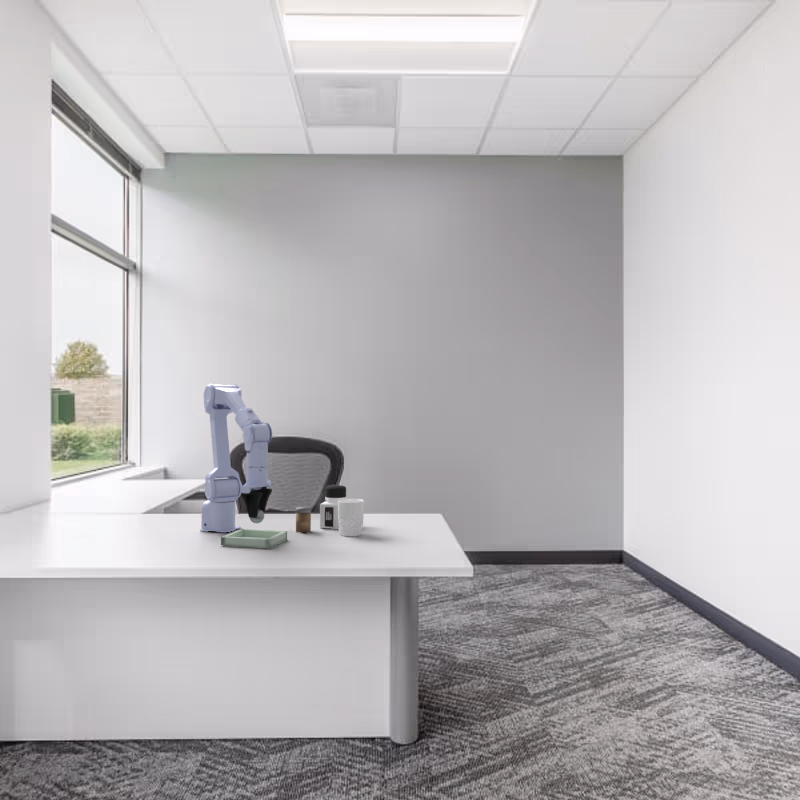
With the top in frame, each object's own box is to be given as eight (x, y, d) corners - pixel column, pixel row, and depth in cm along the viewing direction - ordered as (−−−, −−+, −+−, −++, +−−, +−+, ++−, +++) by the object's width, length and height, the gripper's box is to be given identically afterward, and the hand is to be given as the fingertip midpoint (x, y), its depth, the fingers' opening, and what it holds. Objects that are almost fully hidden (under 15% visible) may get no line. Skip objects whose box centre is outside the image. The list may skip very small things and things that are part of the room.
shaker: (293, 532, 190) (293, 508, 190) (298, 529, 194) (299, 506, 194) (307, 533, 189) (308, 509, 189) (313, 530, 193) (313, 507, 193)
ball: (247, 524, 175) (246, 510, 174) (253, 520, 179) (253, 506, 178) (260, 525, 174) (259, 510, 173) (267, 521, 178) (266, 507, 177)
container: (343, 529, 195) (344, 487, 195) (319, 528, 196) (320, 486, 197) (350, 525, 202) (351, 484, 203) (327, 524, 204) (327, 483, 204)
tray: (220, 546, 171) (220, 537, 171) (241, 537, 182) (241, 528, 182) (269, 548, 168) (269, 539, 168) (287, 539, 179) (287, 531, 179)
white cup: (331, 534, 188) (332, 500, 188) (351, 530, 194) (351, 497, 194) (349, 538, 182) (350, 503, 182) (369, 534, 188) (369, 500, 188)
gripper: (259, 469, 168) (258, 521, 168) (281, 465, 182) (280, 512, 182) (234, 469, 170) (234, 520, 170) (258, 464, 184) (257, 511, 184)
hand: (256, 516), depth 176 cm, fingers closed on ball, 4 cm apart
